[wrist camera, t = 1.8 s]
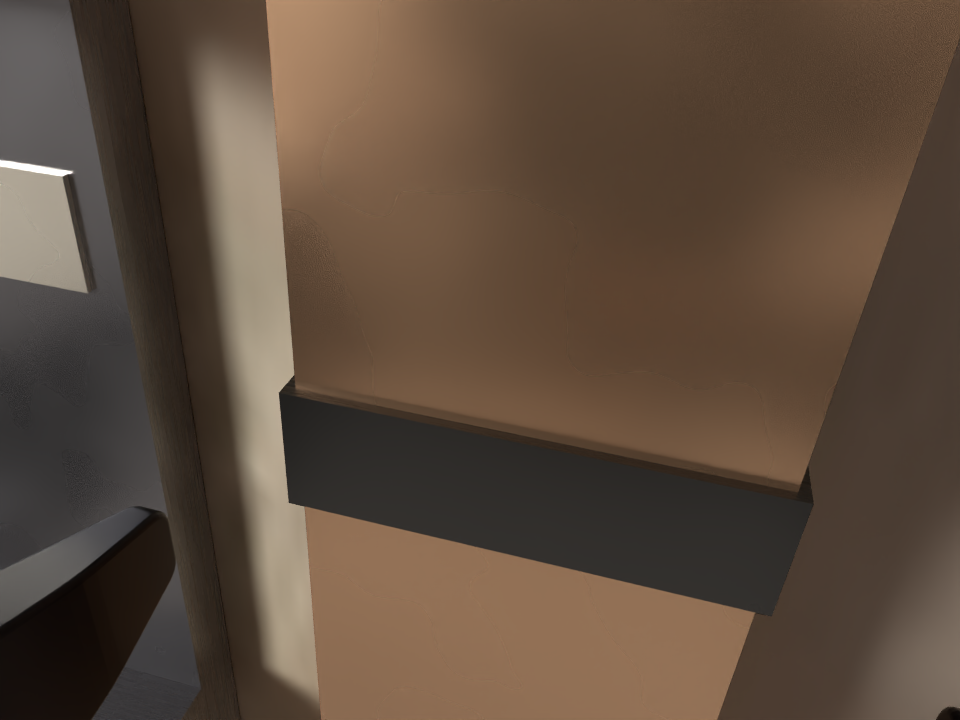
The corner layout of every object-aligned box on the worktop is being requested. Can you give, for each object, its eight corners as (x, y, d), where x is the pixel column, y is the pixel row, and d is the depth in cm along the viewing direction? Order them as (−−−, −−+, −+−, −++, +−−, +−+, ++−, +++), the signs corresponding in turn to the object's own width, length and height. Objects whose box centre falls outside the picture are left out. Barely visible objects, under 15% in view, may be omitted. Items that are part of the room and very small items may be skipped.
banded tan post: (416, 781, 17) (335, 1019, 13) (450, -355, 7) (193, -575, 4) (617, 841, 16) (586, 1110, 12) (955, -348, 6) (1227, -608, 3)
